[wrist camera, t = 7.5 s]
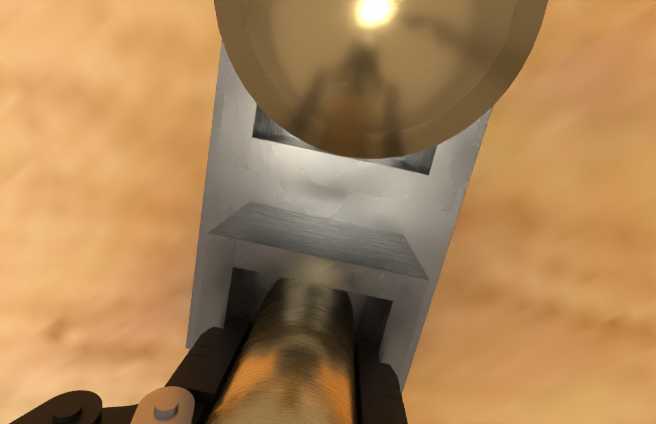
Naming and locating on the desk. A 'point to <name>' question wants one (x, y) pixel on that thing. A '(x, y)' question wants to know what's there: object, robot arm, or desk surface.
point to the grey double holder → (348, 152)
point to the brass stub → (294, 361)
